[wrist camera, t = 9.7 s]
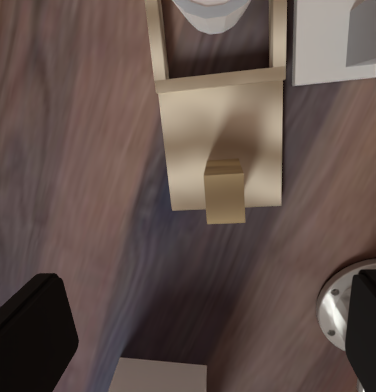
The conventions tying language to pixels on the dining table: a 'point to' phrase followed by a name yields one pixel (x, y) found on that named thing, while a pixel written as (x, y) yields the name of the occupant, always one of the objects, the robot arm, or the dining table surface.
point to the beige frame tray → (222, 127)
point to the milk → (158, 376)
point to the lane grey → (333, 41)
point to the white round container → (212, 13)
